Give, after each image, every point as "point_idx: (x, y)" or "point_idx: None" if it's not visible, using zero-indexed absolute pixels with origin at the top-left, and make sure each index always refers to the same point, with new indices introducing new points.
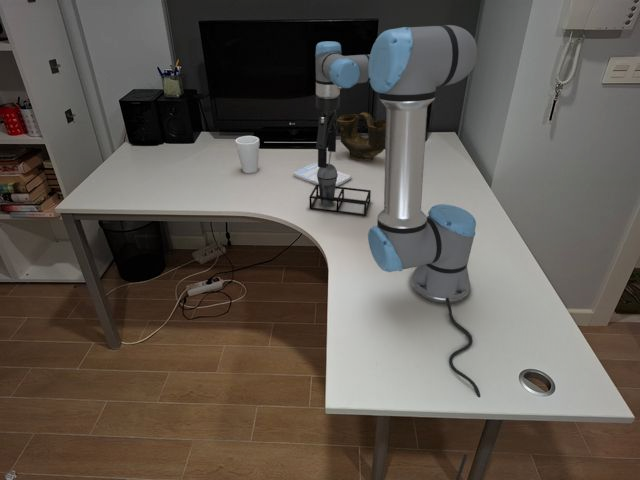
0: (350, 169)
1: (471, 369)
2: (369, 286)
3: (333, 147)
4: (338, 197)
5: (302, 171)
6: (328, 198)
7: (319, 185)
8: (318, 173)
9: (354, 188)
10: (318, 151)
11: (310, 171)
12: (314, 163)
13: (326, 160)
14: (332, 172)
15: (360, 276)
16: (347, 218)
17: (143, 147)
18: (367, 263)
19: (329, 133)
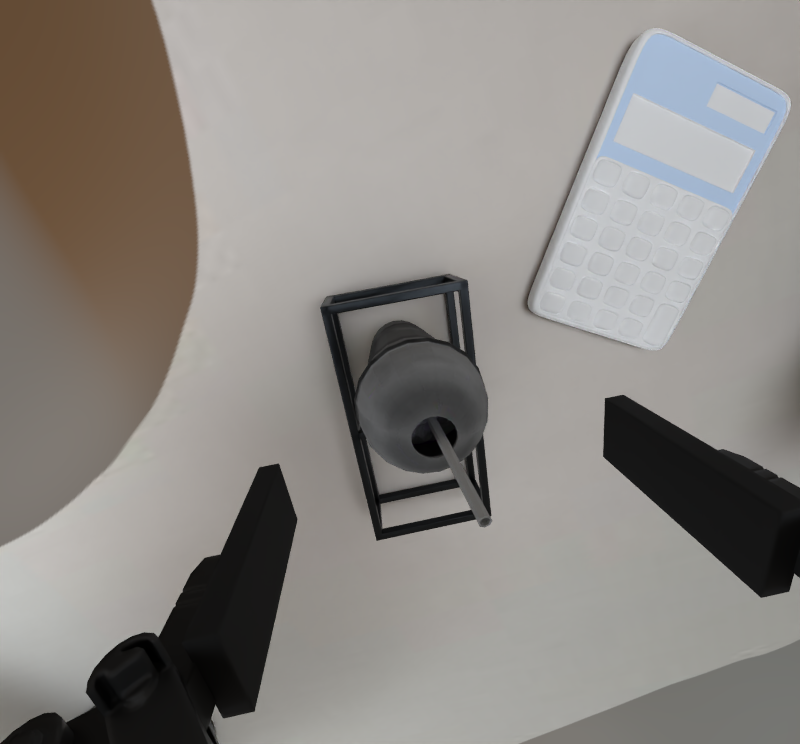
0: (748, 305)
1: None
2: (22, 637)
3: (631, 466)
4: None
5: (674, 78)
6: (345, 399)
7: (376, 352)
8: (374, 374)
9: (484, 457)
10: (202, 604)
11: (682, 127)
12: (786, 103)
13: (281, 569)
14: (397, 466)
15: (44, 606)
16: (331, 457)
17: None
18: (117, 598)
19: (786, 527)
